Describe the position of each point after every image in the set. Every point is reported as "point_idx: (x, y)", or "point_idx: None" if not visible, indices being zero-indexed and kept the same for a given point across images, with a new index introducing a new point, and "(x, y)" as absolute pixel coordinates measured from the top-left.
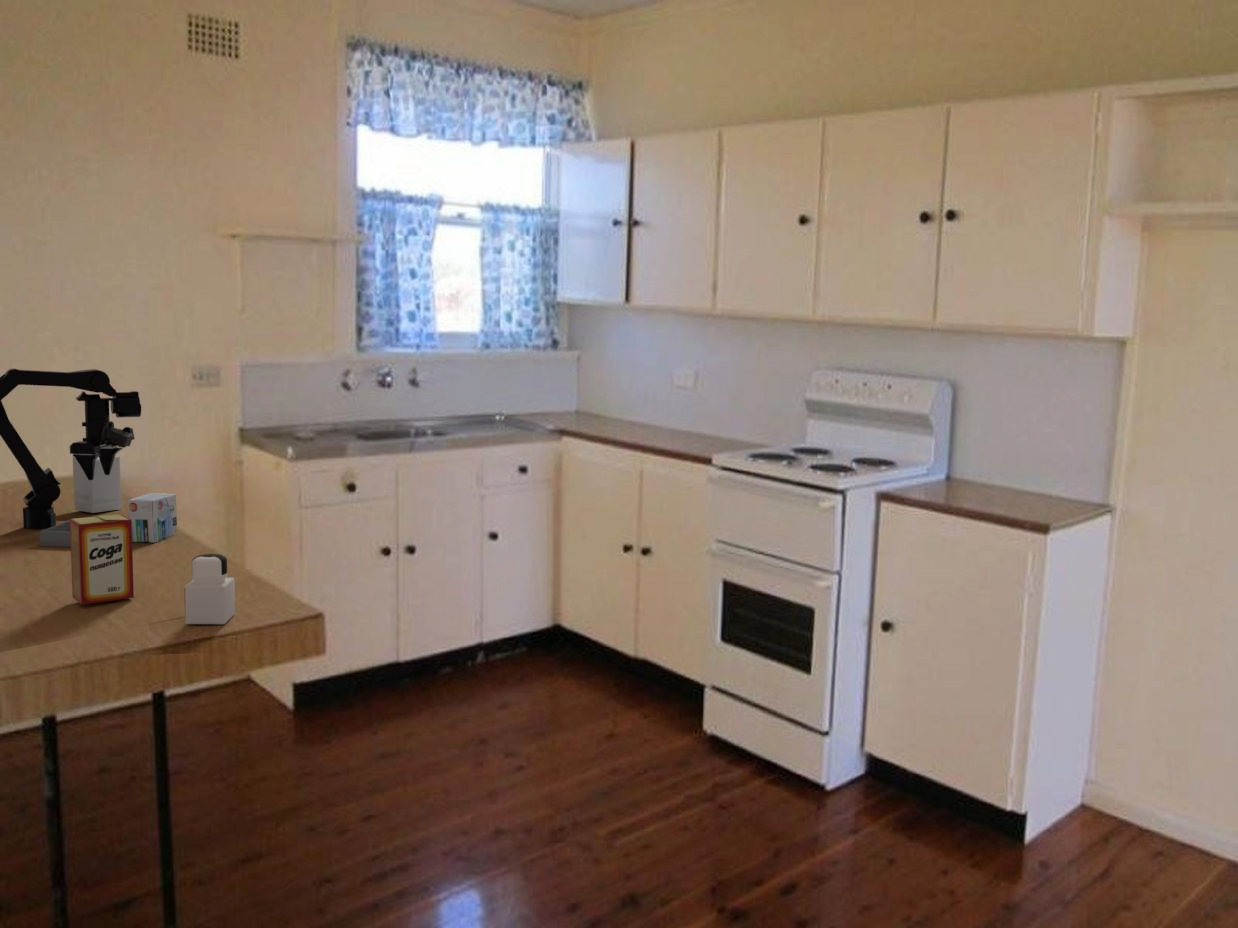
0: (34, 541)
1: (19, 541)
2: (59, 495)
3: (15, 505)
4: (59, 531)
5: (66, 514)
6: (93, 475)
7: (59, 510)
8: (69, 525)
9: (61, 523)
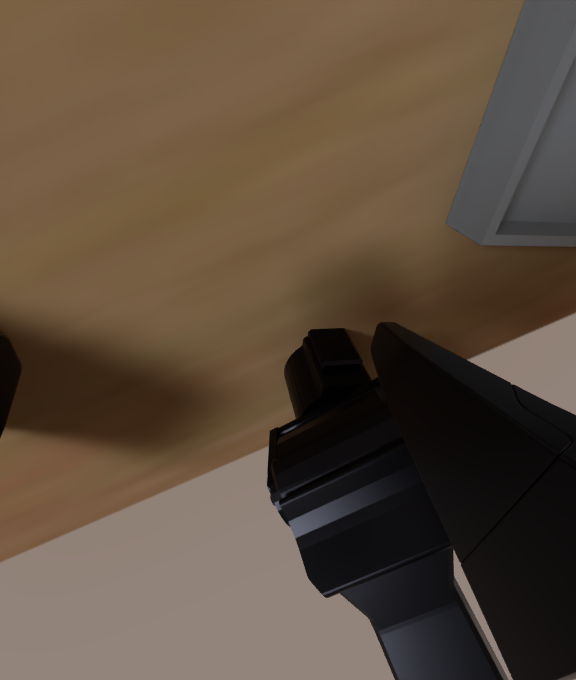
0: (549, 278)
1: (531, 316)
2: (378, 396)
3: (6, 551)
4: (570, 227)
5: (74, 401)
6: (410, 339)
7: (11, 450)
8: (506, 228)
9: (562, 243)
